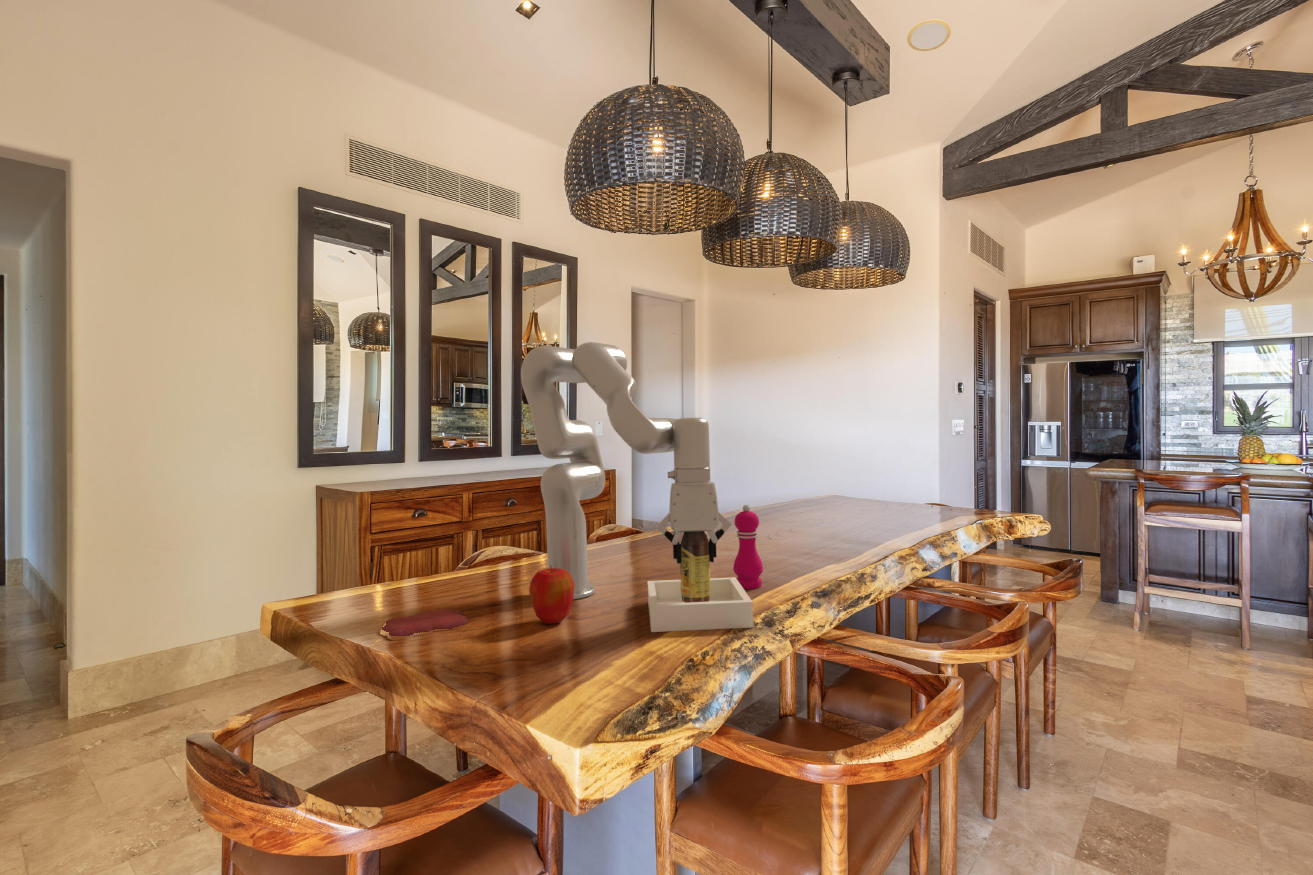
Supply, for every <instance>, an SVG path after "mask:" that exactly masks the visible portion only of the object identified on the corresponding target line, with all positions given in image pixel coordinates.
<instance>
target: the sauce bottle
mask: <svg viewBox="0 0 1313 875" xmlns="http://www.w3.org/2000/svg"><path fill="white" fill-rule="evenodd" d="M705 532H706V531H700V532H683V534H682V537H681V541H680V549H681V563H680V566H679V568H680V569H679V570H680V572H679V574H680V580H681V594H682V601H683V602H685V603H690V602H708V601H709V600H710V578H711V562H710V553H709V537H708V535H707V534H706V533H705Z"/></svg>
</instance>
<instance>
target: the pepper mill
mask: <svg viewBox="0 0 1313 875" xmlns="http://www.w3.org/2000/svg"><path fill="white" fill-rule="evenodd" d="M742 510H743V511H740V512H738V513H737V514H736V515H735V516H734V517H735V518H734V526H735V528H736V529H737V531H736V537H737V538H738V543H739V544H738V551H737V555H736V557H735V559H734V563H733V573H734V574H735V575H736V579H737V580H738V582H739V583H740V585H741V586H742V587H743V589H744V590H756V589H757V590H758V589H759V588H761V587H762V586H763V585H762V578H761V575H762V573H763V572H764V566H763V562H762V560H761V558H760V555H759V553H758V551H757V543H756V540H757V539H756V538H757V537H758V530H757V528H758V527H759V525H760V519H759V517H758V515H757V513H755V512H753V511H750V510H751V507H750V505H748V504H744V505H743V506H742Z"/></svg>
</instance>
